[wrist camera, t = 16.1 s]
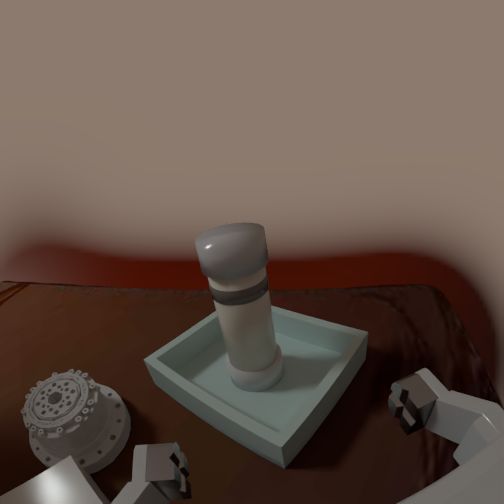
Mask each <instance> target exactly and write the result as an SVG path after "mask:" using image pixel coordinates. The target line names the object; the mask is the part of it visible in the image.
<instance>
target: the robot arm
mask: <svg viewBox="0 0 504 504" xmlns="http://www.w3.org/2000/svg"><path fill="white" fill-rule="evenodd" d="M391 390H392V391H393V392H392V393H391V395H390V396H389V400H388V404H389V409H390V411H391V413H392V414H393V416H394V417H396V418H399V419H400V423H399V424H400V426H401V427H402V429H403V430H404V432H405V433H406V434H407V435H409V434H411V433H413V432H415V431H417V430H419V429H421V428H423V427H425V428H426V429H428V430H430V431H432V432H434V433H436V434H438V435H441V436H443V437H445V438H447V439H449V440H451V441H454V442H456V443H458V444H460V445H459V446H458V448H457V449H456V451H455V452H454V455H453V456H454V458H455V459H456V460H457V462H458V463H459V465H460V466H459V467H457V468H456V469H455V470H453V471H452V472H450V473H449V474H447V475H446V476H444V477H442V478H441V479H439V480H438V481H436V482H434V483H433V484H431V485H429V486H428V487H426V488H424V489H423V490H421V491H419V492H417V493H416V494H414V495H412V496H410V497H408V498H406V499H404V500H403V501H401V502H399V503H397V504H504V410H503V409H502V408H501V407H500V406H499V405H498V404H497V403H493V402H490V401H486V400H483V399H479V398H476V397H472V396H469V395H465V394H462V393H459V392H455V391H450V392H449V391H448V390H447V389H446V388H445V387H444V386H443V385H442V384H441V383H440V381H439V380H438V379H437V378H436V377H435V376H434V375H433V374H432V373H431V372H430V371H429V370H428V369H426V368H423V369H421V370H419V371H417V372H415V373H412V374H410V375H408V376H406V377H404V378H402V379H400V380H398V381H396V382H394V383H393V384H392V387H391ZM188 476H189V466H188V462H187V459H186V457H185V455H184V453H183V452H180V451H179V446H178V444H177V443H176V442H172V443H162V444H146V445H136V446H135V448H134V455H133V470H132V482H128V483H127V484H126V486H125V487H124V488H123V489H122V491H121V492H120V493H119V494H118V496H117V497H116V498H115V499H114V500H113V502H112V503H111V504H169V503H170V500H181V499H191V498H192V497H191V485H190V483H189V482H188V480H187V479H186V478H187V477H188Z"/></svg>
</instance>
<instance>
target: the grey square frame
mask: <svg viewBox="0 0 504 504" xmlns="http://www.w3.org/2000/svg"><path fill="white" fill-rule="evenodd" d="M0 504H111V503H110V502H109V500H108V499H107V498H106V496H105V495H104V494H103V492H102V491H101V490H100V488H99V487H98V486H97V484H96V483H95V482H94V480H93V479H92V477H91V476H90V474H89V473H87V472H86V471H85V470H84V469H83V468H82V467H81V465H80V464H79V463H78V462H77V461H76V460H75V459H74V458H73V457H72V456H71V455H70V456H69V457H67V458H65V459H64V460H62V461H61V462H59V463H57V464H56V465H54V466H52V467H51V468H49V469H47V470H46V471H44V472H42V473H41V474H39V475H37V476H36V477H34V478H32V479H30V480H29V481H27V482H25V483H23V484H22V485H20V486H18V487H16V488H15V489H13V490H11V491H9V492H7V493H5V494H4V495H2V496H0Z"/></svg>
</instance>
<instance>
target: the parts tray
mask: <svg viewBox="0 0 504 504" xmlns="http://www.w3.org/2000/svg"><path fill="white" fill-rule="evenodd" d="M271 310H272V317H273V324H274V331H275V337H276V343H277V344H278V345H279V346H280V348H281V352H282V360H283V368H284V373H283V376H282V378H281V380H280V381H279V382H278V383H277V384H276V385H275V386H273V387H272V388H270V389H267V390H264V391H260V392H247V391H243V390H241V389H239V388H237V387H236V386H235V385H234V384H233V383H232V381H231V377H230V374H229V371H228V367H227V364H226V355H227V349H226V346H225V342H224V338H223V334H222V331H221V327H220V323H219V319H218V315H217V311H215V312H214V313H212V314H211V315H209V316H208V317H206V318H205V319H203V320H202V321H200V322H199V323H198V324H196V325H195V326H193V327H192V328H190V329H189V330H187V331H186V332H184V333H183V334H181V335H180V336H178V337H177V338H175V339H174V340H172V341H171V342H169V343H168V344H166V345H165V346H163V347H162V348H160V349H159V350H157V351H156V352H154V353H153V354H151V355H150V356H148V357H147V358H145V359H144V362H145V364H146V366H147V368H148V370H149V372H150V374H151V376H152V378H153V381H154V383H155V384H156V385H157V386H158V387H160V388H161V389H162V390H163V391H165V392H166V393H167V394H168V395H170V396H171V397H172V398H174V399H175V400H176V401H178V402H179V403H180V404H182V405H183V406H184V407H186V408H187V409H189V410H190V411H191V412H193V413H194V414H196V415H197V416H198V417H200V418H201V419H203V420H204V421H206V422H207V423H209V424H210V425H212V426H213V427H215V428H216V429H218V430H219V431H221V432H222V433H224V434H225V435H227V436H228V437H230V438H232V439H233V440H235V441H236V442H238V443H240V444H241V445H243V446H245V447H246V448H248V449H250V450H251V451H253V452H255V453H257V454H258V455H260V456H262V457H264V458H266V459H267V460H269V461H271V462H273V463H275V464H277V465H278V466H280V467H282V468H284V469H285V468H286V467H287V466H288V465H289V464H290V462H291V461H292V460H293V459H294V458H295V457H296V455H297V454H298V453H299V452H300V451H301V449H302V448H303V447H304V446H305V444H306V443H307V442H308V441H309V439H310V438H311V437H312V436H313V434H314V433H315V432H316V430H317V429H318V428H319V426H320V425H321V424H322V422H323V421H324V420H325V418H326V417H327V416H328V414H329V413H330V412H331V410H332V409H333V407H334V406H335V405H336V403H337V402H338V400H339V399H340V397H341V396H342V395H343V393H344V392H345V390H346V389H347V387H348V386H349V384H350V383H351V381H352V380H353V378H354V377H355V375H356V373H357V372H358V370H359V369H360V367H361V366H362V364H363V362H364V361H365V359H366V350H367V339H368V332H366V331H362V330H358V329H354V328H350V327H346V326H343V325H339V324H335V323H331V322H328V321H324V320H320V319H317V318H313V317H309V316H306V315H302V314H299V313H295V312H292V311H288V310H285V309H281V308H278V307H274V306H271Z"/></svg>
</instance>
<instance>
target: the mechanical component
mask: <svg viewBox="0 0 504 504" xmlns="http://www.w3.org/2000/svg"><path fill="white" fill-rule="evenodd" d="M36 385H37V387H36V388H35V387H32V388H31V389H30V391H31V394H27V395H26V396H25V397H26V399H27V400H26V403H25V406H24V409H22V410H21V413H22V415H23V420H24V423H25V426H26V428H27V429H28V430H29V443H30V446H31V448H32V450H33V453H34V455H35V456H36V457H37V458H38V459H39V460H40V461H41V462H42V463H43V464H44V465H45V466H46V467H47V468H51V467H52V466H54V465H56V464H57V463H59V462H61V461H62V460H64V459H65V458H67V457H69V456H70V455H71V456H72V457H73V458H74V459H75V460H76V461H77V462H78V463H79V464H80V465H81V467H82V468H83V469H84V470H85V471H86V472H87V473H89V474H92V473H95V472H98V471H100V470H101V469H103V468H104V467H106V466H107V465H109V464H110V463H112V462H113V461H114V460H115V458H116V457H117V456H118V455H119V454H120V452H121V451H122V450H123V449H124V447H125V444H126V442H127V440H128V438H129V434H130V430H131V420H130V415H129V412H128V410H127V407H126V405H125V404H124V402H123V401H122V399H121V398H120V396H119V395H118V394H117V393H116V392H115V391H114V390H112V389H111V388H109V387H107V386H104V385H100V384H96V383H95V382H94V380H93V379H92V378H91V377H89V375H88V373H84V374H83V373H82V372H81V371H80V370H78V371H76V372H75V371H74V370H73V369H71V370H69V371H68V372H66V373H61V374H57V372H55V373H53V374H52V377H50V378H49V379H47V380H45V381H43V382H41V381H39V382H37V384H36Z"/></svg>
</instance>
